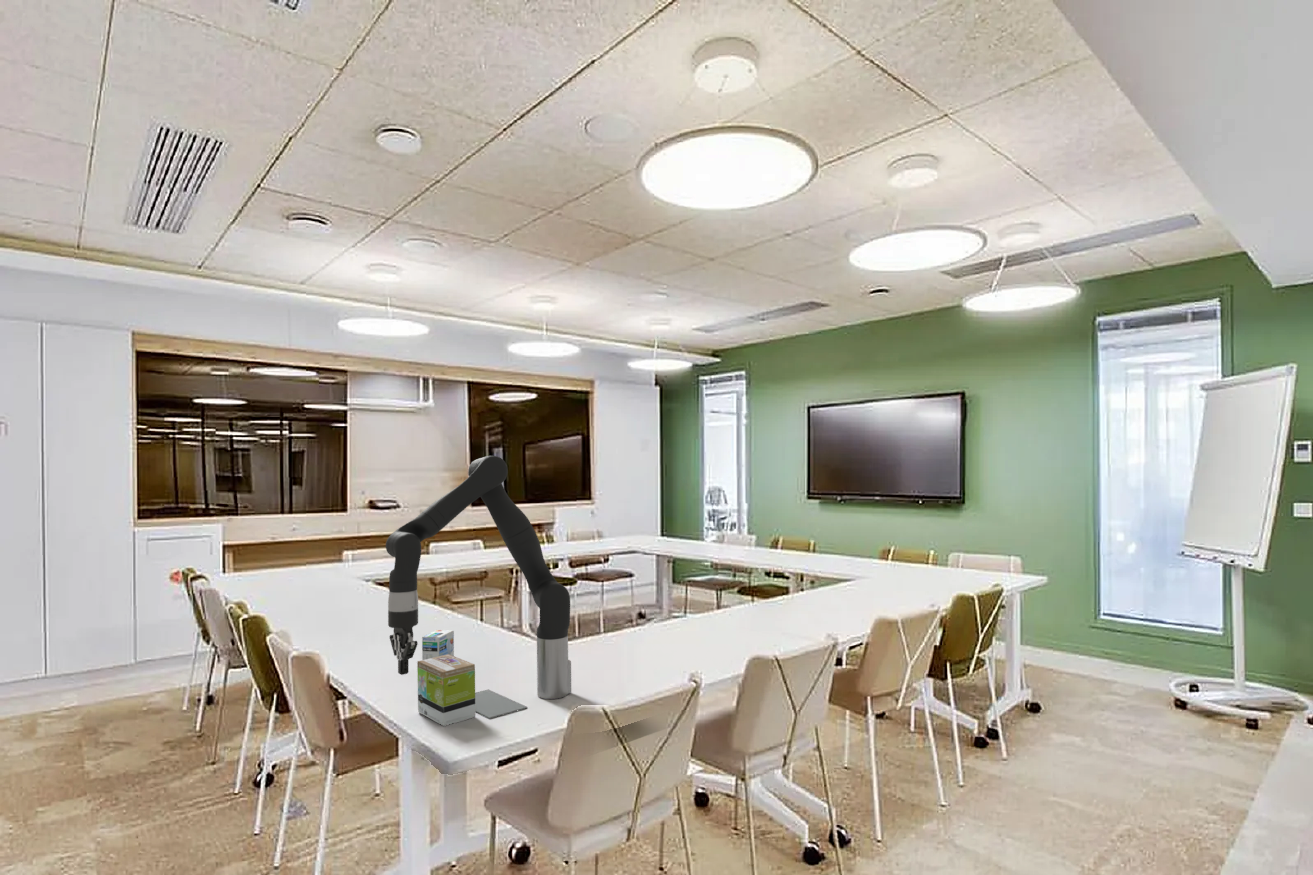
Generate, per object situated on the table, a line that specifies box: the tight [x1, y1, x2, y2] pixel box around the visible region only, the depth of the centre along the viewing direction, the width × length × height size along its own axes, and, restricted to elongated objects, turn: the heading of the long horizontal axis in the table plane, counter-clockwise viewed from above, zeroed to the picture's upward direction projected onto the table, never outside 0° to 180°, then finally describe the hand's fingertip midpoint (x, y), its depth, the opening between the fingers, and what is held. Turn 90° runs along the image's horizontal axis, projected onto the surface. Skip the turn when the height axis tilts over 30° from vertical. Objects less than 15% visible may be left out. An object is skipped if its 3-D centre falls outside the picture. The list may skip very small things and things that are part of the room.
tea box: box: [416, 654, 476, 727], centre depth 199 cm, size 15×10×15 cm
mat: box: [475, 689, 528, 720], centre depth 208 cm, size 12×22×1 cm, turn 42°
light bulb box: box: [421, 629, 455, 661], centre depth 250 cm, size 11×7×11 cm, turn 168°
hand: (403, 673), depth 192 cm, fingers closed
